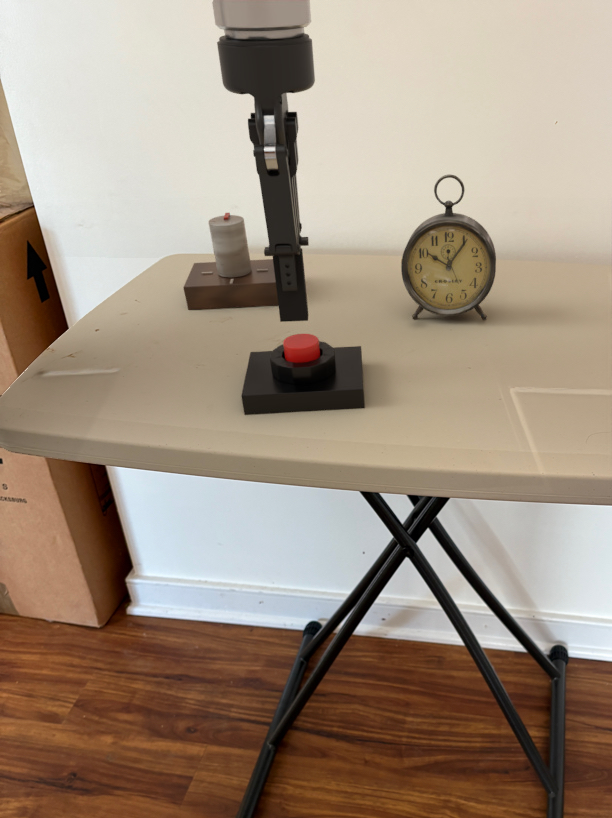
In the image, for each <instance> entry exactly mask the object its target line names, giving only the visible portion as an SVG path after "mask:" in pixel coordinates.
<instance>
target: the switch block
mask: <svg viewBox="0 0 612 818" xmlns="http://www.w3.org/2000/svg"><path fill="white" fill-rule="evenodd" d="M319 347H320V357H319V358H318V359H316V360H313V361H309V362H300V363H295V362H290V361H286V359H285V354H284V347H283V343H282V344H280V345H278V346H277V347H276V348H274V349H272V350H264V351H263V350H262V351H250V352H249V358H248V363H247V366H246V372H245V375H244V382H243V386H242V390H241V394H240V398H241V403H242V408H243V413H244V416H253V415H254V416H255V415H270V414H271V415H272V414H288V413H305V412H323V411H324V412H325V411H342V410H356V409H357V410H359V409H365V408H366V405H365V391H364V390H365V387H364V369H363V367H364V366H363V353H362V345H357V346H337V347H333V346H332V345H330V344H329V343H327V342H325V341H320V340H319Z"/></svg>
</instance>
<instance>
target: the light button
mask: <svg viewBox="0 0 612 818" xmlns="http://www.w3.org/2000/svg"><path fill="white" fill-rule="evenodd" d="M319 341H320V340H319V337H317V335H314V334H311V333H297V334H292V335H289V336H287V337H285V338H284V340H283V341H282V344H283V347H284V354H285V359H286V361H290V362H295V363H300V362H309V361H313V360H316V359H318V358H319V357H320V347H319Z"/></svg>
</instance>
